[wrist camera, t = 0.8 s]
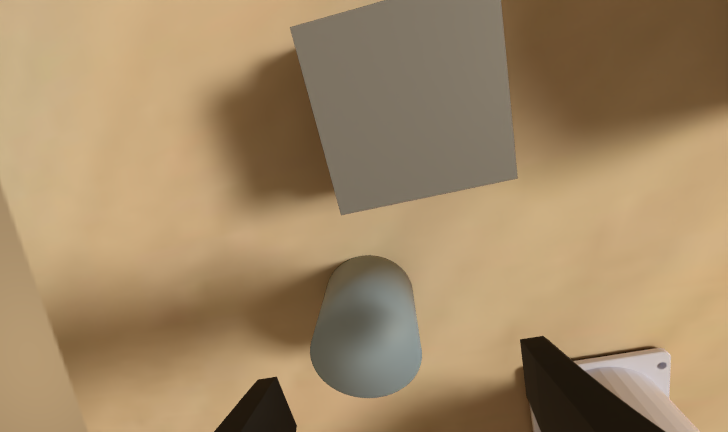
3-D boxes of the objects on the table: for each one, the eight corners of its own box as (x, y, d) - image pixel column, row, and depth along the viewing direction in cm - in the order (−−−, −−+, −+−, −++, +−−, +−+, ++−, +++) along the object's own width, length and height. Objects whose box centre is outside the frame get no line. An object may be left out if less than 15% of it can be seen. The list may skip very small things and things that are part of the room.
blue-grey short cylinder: (420, 321, 21) (431, 389, 16) (340, 335, 21) (328, 405, 17) (402, 247, 19) (408, 298, 14) (316, 265, 20) (295, 319, 15)
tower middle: (489, 160, 14) (517, 178, 11) (349, 190, 15) (341, 215, 12) (470, -2, 12) (498, -32, 9) (311, 42, 13) (289, 27, 10)
